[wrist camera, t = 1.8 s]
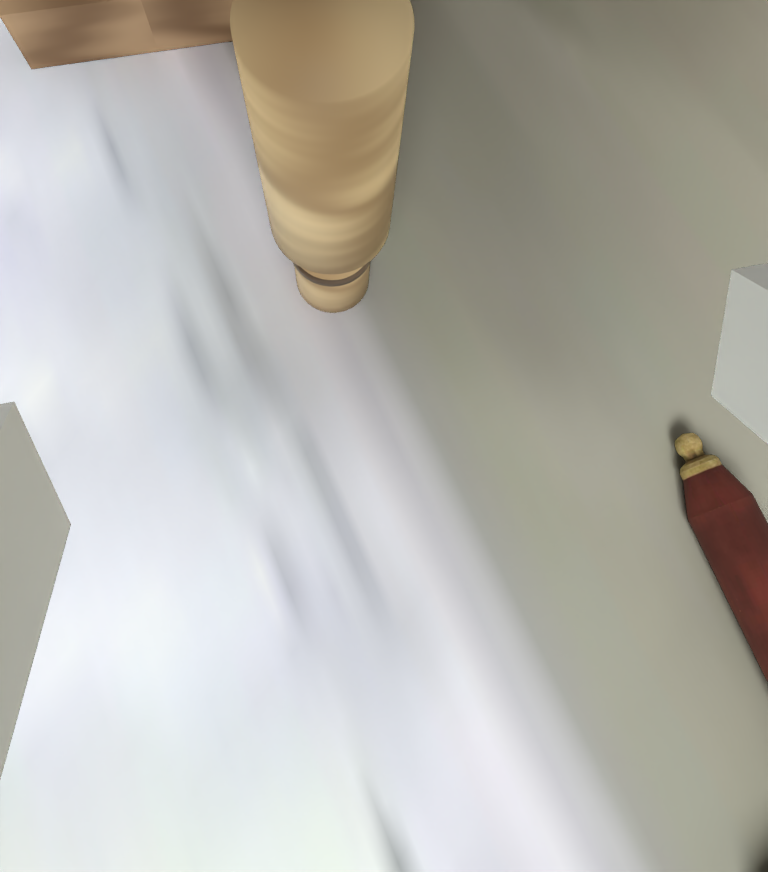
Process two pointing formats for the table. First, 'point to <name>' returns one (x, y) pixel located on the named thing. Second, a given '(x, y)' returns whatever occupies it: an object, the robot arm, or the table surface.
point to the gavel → (729, 539)
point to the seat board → (111, 27)
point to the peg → (326, 130)
